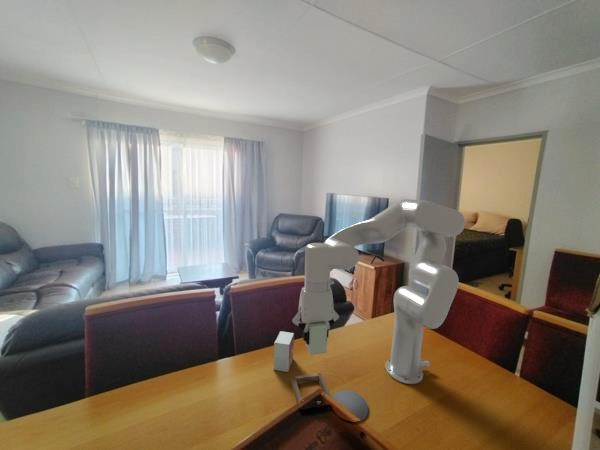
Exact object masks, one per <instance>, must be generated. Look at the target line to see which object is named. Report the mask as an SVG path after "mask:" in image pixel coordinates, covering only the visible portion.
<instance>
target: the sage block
mask: <svg viewBox="0 0 600 450" xmlns="http://www.w3.org/2000/svg"><path fill="white" fill-rule="evenodd" d="M308 331H309V345H307V344H306V342H305V341H304V343H305V344H304V345H305V346H306V349H307V351H308V353H309V355H310V356H315V355H321V354H326V353H327V347H328V346H327V345H328V338H327V324H326V322H316V323H310V324H309V329H308Z"/></svg>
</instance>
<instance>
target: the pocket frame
mask: <svg viewBox="0 0 600 450" xmlns="http://www.w3.org/2000/svg"><path fill="white" fill-rule="evenodd" d="M313 382H318V384H319V386H320V388H321V390H323V391H324V392H325V393H326V394H327V395H328V396H329V397H331V398H332V396H333V395H332V394H331V392H330V390H329V388H328V385H327V383H326V381H325V378H324V376H323V374H322V372H315V373H309V374H308V373H307V374H302V375H301V374H300V375H295V376H294V375H293V376H291V377H290V384H291V388H292V391H293V394H294V398H295V402H296V404H297V403H299V402H300V401H301V400H302V401H303V398H302V395H301V392H300V389H299V386H298V385H299V384H306V383H313ZM323 391H322V392H323ZM332 399H333V398H332ZM316 403H317V404H318V405H319V404H320V403H321V401H317V402H316Z"/></svg>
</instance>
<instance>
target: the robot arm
mask: <svg viewBox="0 0 600 450" xmlns="http://www.w3.org/2000/svg"><path fill="white" fill-rule="evenodd" d="M465 226H466V220H465V216H464V215H463V213H462V212H460V211H459V210H456V209H454V208H451V207H448V206H445V205H442V204H438V203H435V202H434V201H433V202H432V201H428V200H425V199H423V200H422V199H401V200H398V201H396V202H395V203H393V204H391V205H390V206H388V207H387V208H386V209H383V210H382V211H381V212H379V213H377V214H376V215H374V216H373V217H371V218H369V219H367V220H364V221H361V222H358V223H356V224H352V225H349V226H347V227H345V228H343V229H340V230H339V231H337V232H336V233H334V234H333V235H331V236H329V237H327V239H326V240H324V242H323V243H322V242H312V243H308V244H307V245H306V246H305V248H304V249H305V250H304V284H303V285H304V286H302V288H300V289H301V291H300V293H299V294H300V295H299V301H298V302H299V303H298V311H297V312H296V314H295V315H294V316H293V318H292V321H291V322H292V323H293V324H294V325H295V326H297V327H298V328H300V330H302V340H303V341H304V343H305V342H306V344H307V345H309V331H308V329H309V324H310V323H316V322H326V324H327V339H328V338H329V331H330V330H331V327H332V326H333V325H334V324H335V322H336V321H337V320H339V319H340V315H339V314H338V313H337V311H336V310H335V309H334V298H333V291H332V287H331V285H334V284H335V280H334V279H331V269H333V270H334V269H335V270H350V269H353V268H354V267H356V266H357V265H358V263H359V261H360V253H359V251H358V249H357V248H356V247H357V246H361V245H367V244H368V245H369V244H370V245H373V244H382V243H385V242H388V241H389V240H390V239H392V238H393V237H394V236H396V235H398V234H399V233H400V232H402V231H404V230H405V229H407V228H409V227H411V228H416V230H417V232H418V236H419V245H418V246H417V250H416V253H415V255H414V258H413V260H412V262H411V264H410V268H409V270H408V279H409V280H410V281H411V283H414V284H415V285H417V286H419V287H421V288H423V289H425V290H427V291H428V293H426V292H424V291H422V290H420V289H417V288H416V287H414V286H411V285H404V286H400V287H399V288H397V290H396V291H395V292H394V295H393V310H394V311H393V313H394V321H393V331H392V341H391V342H392V343H391V350H390V358H389V359H387V360H386V362H385V366H384V367H385V370H386V373H387V374H388V375H389V376H390V377H391V378H393V379H394V380H396V381H397V382H399V383H403V384H407V385H417V384H419V383H421V382H422V381H423V380H424V379H423V378H424V373H423V370H422V369H423V368H428V367H430V366H431V363H430V361H429V360H423V359H422V358H421V352H422V345H423V344H422V342H423V336H424V335H423V334H424V328H427V329H430V330H431V329H432V330H434V329H438V328H439V327H441V325H443V323H444V322H445V319H447V316H448V313H449V312H450V308H451V306H452V303H453V301H454V299H455V297H456V294H457V291H458V287H459V282H460V281H459V276H458V273H457V272H456V271H455V270H454V269H453V268H452V267H449V266H448V265H444V264H442V263H443V261H444V258H445V255H446V252H447V243H446V239H445V237H448V238H449V237H456V236H459V235H460V234H461V233H462V232H463V231H464V228H465ZM300 319H301V320H300ZM306 344H305V345H306Z"/></svg>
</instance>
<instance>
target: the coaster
mask: <svg viewBox="0 0 600 450" xmlns="http://www.w3.org/2000/svg"><path fill="white" fill-rule="evenodd" d="M331 396H332V398H333V399H334V400H335V401H337V402H338V403H340V404H342V405H343V406H344V407H345V408H346V409H347V410H348V411H350V412H351V413H352V414H353V415H355V416H356V417H357V418H359V419H360V420H362V421H363V420H365V419H366V418H367V416H368V413H369V407H368V403H367V400H365V398H364V397H363V396H362V395H361V394H359V393H357V392H355V391H353V390H348V389H341V390H339V391H336V392H334V394H333V395H331Z"/></svg>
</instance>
